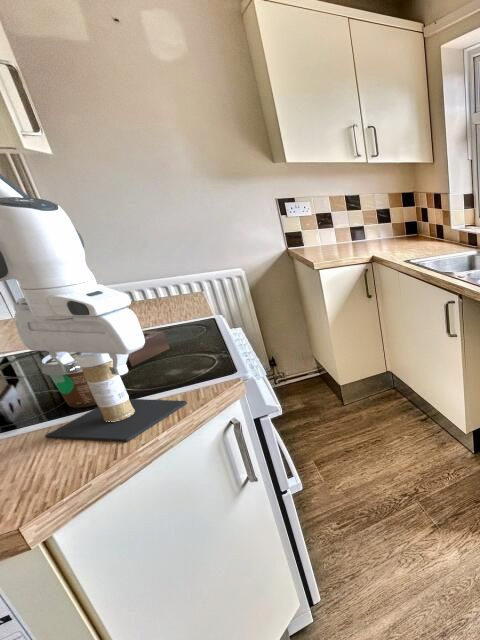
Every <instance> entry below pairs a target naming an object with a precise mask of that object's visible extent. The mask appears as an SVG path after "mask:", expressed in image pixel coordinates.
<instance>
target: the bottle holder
mask: <svg viewBox="0 0 480 640" xmlns="http://www.w3.org/2000/svg"><path fill="white" fill-rule="evenodd" d="M142 332H143V335H144V338H145V343H144V346H143V348H141V349H139V350H137V351H135V352H132V353H130V354H129V355H128V358H127V362H126V365H127V368H133V367H135V366H137V365H139V364H141V363H143V362H146V361H147V360H149V359H151V358H153V357H156V356H157V355H159V354H163V353H164V352H166V351H168V350H170V349H171V347H170V345H169V342H168V338H167V336H166V334H165V331H163V330H162V331H161V330H142ZM113 360H114V359H113Z"/></svg>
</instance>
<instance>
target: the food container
mask: <svg viewBox="0 0 480 640" xmlns="http://www.w3.org/2000/svg"><path fill="white" fill-rule="evenodd" d="M68 354H69V355H70V356H71V357H72V358H73V359H74V361H76V359H75V357H76V356H77V355H78V354H80V353H79V352H68ZM40 369H41V373H42V374H44V375H47V376H49V377H50V379H51V380H52V382H53V384H54V385H55V386H56V388H57V390H58V391H59V393H60V395H61V396H62V398H63V400H64V401H65V402H66V404H67V405H68V407H70V408H86V407H87V408H88V407H92V406H98V405H97V403H96V401H95V399H94V396H93V394H92V392H91V390H90V388H89V385H88V383H87V380H86V378H85V376H84V373H83V371H82V369H81V370H80V371H77V372H75V373H65V372H64V371H63V368H62V366H61V365H60V364H59V363H58V362H57V361H55V360H54V359H53V358H52V357H51V356H50V354H48V355H46V356H45V357H43V358H42V359H41V363H40ZM91 402H94V403H91ZM86 403H89V404H86ZM77 404H82V405H77Z"/></svg>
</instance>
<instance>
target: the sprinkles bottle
mask: <svg viewBox="0 0 480 640" xmlns="http://www.w3.org/2000/svg"><path fill="white" fill-rule="evenodd" d="M75 359H76V362H77V364H78V366H79V367H81V369H82V371H83V373H84V376H85V378H86V380H87V383H88V385H89V388H90V390H91V392H92V394H93V396H94V399H95V401H96V403H97V405H96V406H97V407H99V408H100V410H101V412H102V414H103V417H104V420H105V421H107V422H108V421H110V422H111V421H116V420H120V419H123V418H126V417H128V416H130V415H131V414H133V412H134V411H135V410H134V408H133V407H132V405H131V403H130V400H129V399H130V398H129V394H128V392H127V389H126V386H125V385H124V382H123V380H122V378H121V375H112V373H111V371H110V369H109V367H110V366H112V365H113V359H111V358H110V357H109V354H101V353H80V354H78V355H77V356H76V357H75Z"/></svg>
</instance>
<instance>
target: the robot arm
mask: <svg viewBox="0 0 480 640" xmlns="http://www.w3.org/2000/svg"><path fill="white" fill-rule="evenodd" d="M11 280H15V281H17V283H18V286H19V289H20V291H21V293H22V296H23V297H20V298H18V299H17V301H16V302H15V303H14V304H13V309H14V311H15V313H14V316H13V319H14V322H15V326H16V330H17V333H18V335H19V338H20V341H21V343H22V345H23V346H24V347H25V348H27V350H29V351H37V352H48V353H49V354H48V355H50V356H51V357H52V358H53V359H54V360H55V361H57V362H58V363H59V364H60V365H61V366H62V368H63V371H64V372H65V373H75V372H77V371H80V370H81V367H79V366H78V364H77V362H76V361H74V359H73V358H72V357H71V356H70V355H69V354H68V352H79V353H101V354H109V357H110V358H111V359H114V360H113V365H112V366H110V367H109V369H110V371H111V373H112V375H120V376H124V375H126V374H128V372H129V367H127V365H126V362H127V358H128V355H129V354H130V353H132V352H135V351H137V350H139V349H141V348H143V346H144V343H145V338H144V335H143V332H142V331H143V330H142V327H141V324H140V322H139V319H138V317H137V315H136V313H135V312H134V311H133V310H132V309H130V308H129V307H128V306H130V305H131V304H132V301H131V298H130V296H129V295H128V294H127V293H126V292H125V293H124V292H122V291H119V290H115V289H113V288H111V287H108V286H105V285H104V284H101V283H97V279H96V276H95V275H94V274H93V272H92V271H91V270H90V269H89V267H88V265H87V262H86V252H85V243H84V239H83V237H82V235H81V233H80V232H79V230H78V229H77V228H76V227H75V226H74V224H73V222H72V220H71V219H70V217H69V216H68V214H67V213H66V212H65V210H64V209H63V208H62V207H61V206H60V205H59V204H58V203H55V202H52V201H50V200H47V199H42V198H37V197H31V196H29V195H28V194H27V193H26V192H24V191H23V190H21V189H20V188H19V187H18V186H17V185H15V184H14V183H13V182H12V181H10V180H9V179H8V178H7V177H5V176H4V175H3V174H1V173H0V282H5V281H11Z"/></svg>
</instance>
